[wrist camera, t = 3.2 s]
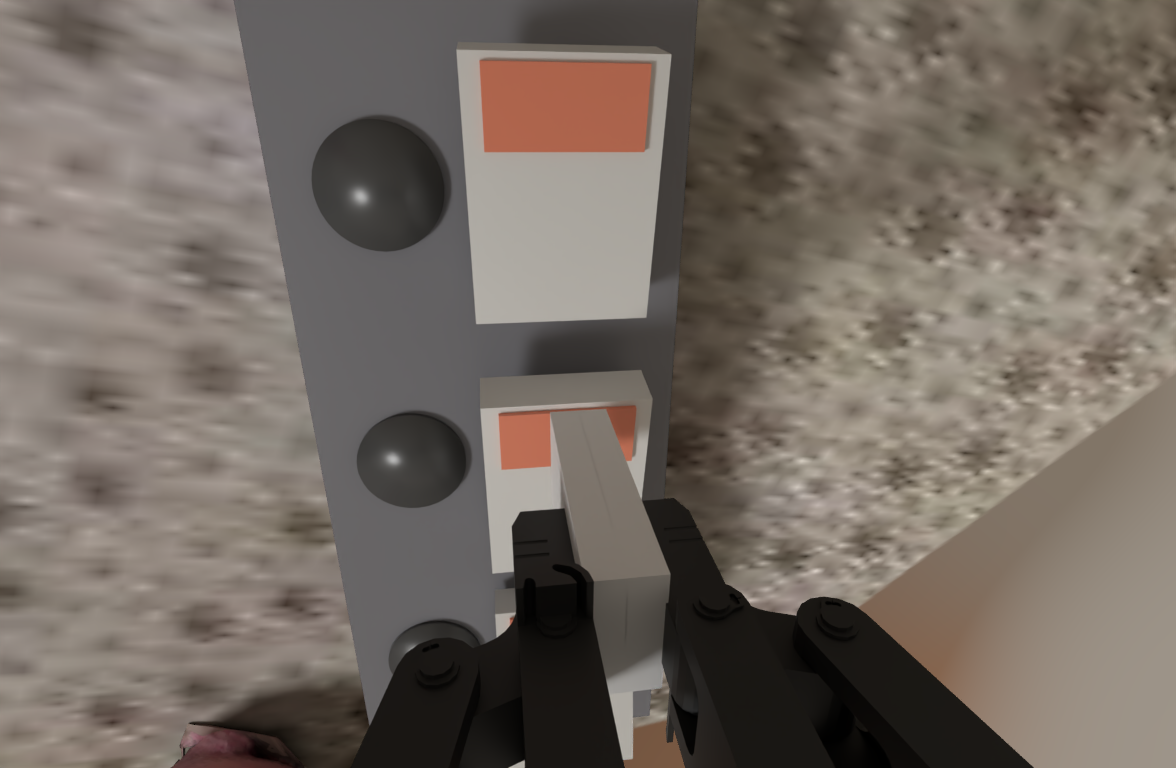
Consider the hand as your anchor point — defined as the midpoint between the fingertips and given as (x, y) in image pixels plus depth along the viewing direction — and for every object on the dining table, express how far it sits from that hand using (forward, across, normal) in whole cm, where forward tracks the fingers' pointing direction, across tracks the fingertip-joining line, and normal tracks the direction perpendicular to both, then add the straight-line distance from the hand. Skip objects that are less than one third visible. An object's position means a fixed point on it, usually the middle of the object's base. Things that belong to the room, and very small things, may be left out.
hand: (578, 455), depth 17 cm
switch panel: (+9, -2, -2) cm, 9 cm away
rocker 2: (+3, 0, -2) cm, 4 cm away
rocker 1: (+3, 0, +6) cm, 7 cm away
